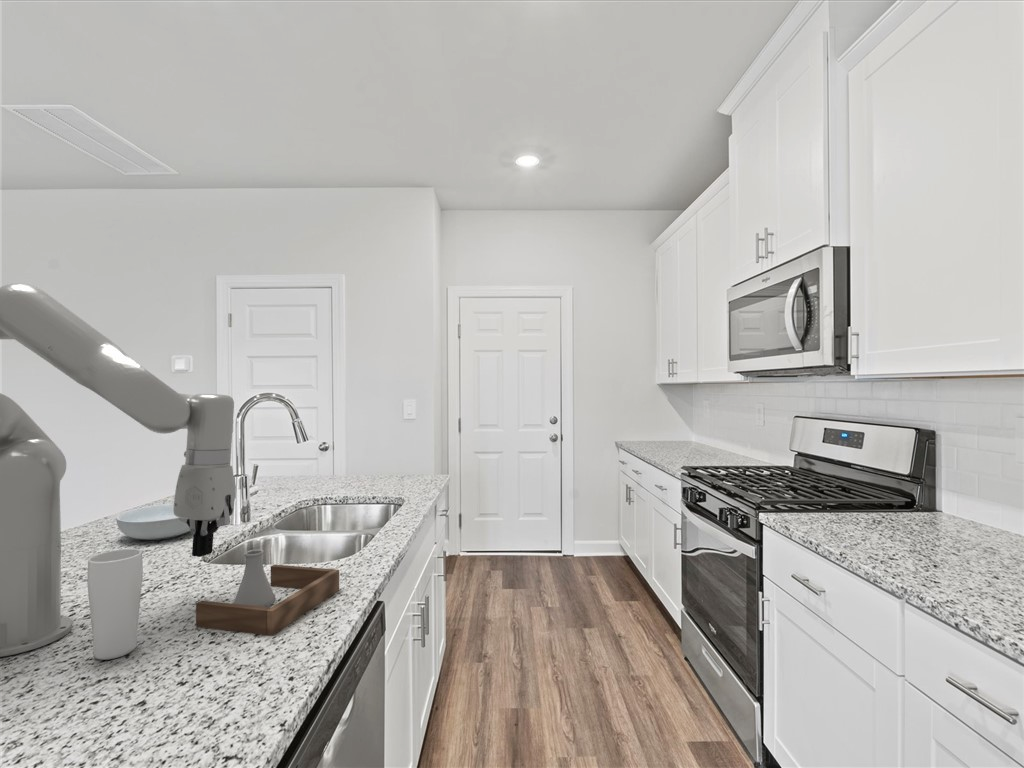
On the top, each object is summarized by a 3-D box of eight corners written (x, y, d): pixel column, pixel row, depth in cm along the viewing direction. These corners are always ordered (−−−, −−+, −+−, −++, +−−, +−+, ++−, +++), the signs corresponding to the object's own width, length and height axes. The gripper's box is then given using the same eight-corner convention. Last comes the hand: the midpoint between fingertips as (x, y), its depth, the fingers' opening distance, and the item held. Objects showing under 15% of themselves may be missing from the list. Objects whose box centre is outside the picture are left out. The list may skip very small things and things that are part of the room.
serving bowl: (95, 544, 137) (95, 517, 137) (166, 523, 157) (166, 501, 157) (159, 549, 132) (159, 522, 132) (223, 528, 152) (223, 504, 152)
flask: (260, 614, 93) (260, 558, 94) (223, 612, 94) (223, 557, 94) (282, 598, 101) (282, 546, 101) (248, 596, 101) (248, 545, 102)
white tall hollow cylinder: (135, 637, 85) (135, 545, 85) (148, 650, 80) (148, 554, 81) (82, 654, 79) (82, 556, 80) (93, 669, 75) (93, 565, 75)
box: (272, 635, 85) (272, 611, 85) (195, 626, 89) (195, 603, 89) (339, 589, 105) (339, 569, 105) (274, 583, 108) (274, 564, 108)
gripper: (159, 457, 98) (152, 555, 97) (226, 462, 94) (219, 564, 94) (192, 454, 105) (186, 545, 104) (255, 459, 102) (249, 553, 101)
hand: (202, 554), depth 99 cm, fingers closed
